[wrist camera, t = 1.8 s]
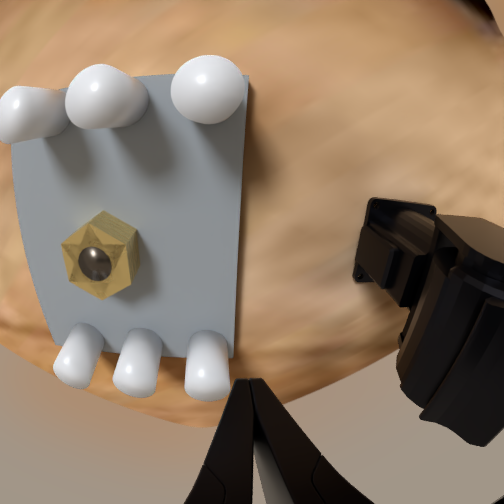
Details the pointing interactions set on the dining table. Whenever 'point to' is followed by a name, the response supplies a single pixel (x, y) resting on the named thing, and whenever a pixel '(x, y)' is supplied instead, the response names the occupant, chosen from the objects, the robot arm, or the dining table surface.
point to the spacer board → (136, 215)
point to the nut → (102, 255)
